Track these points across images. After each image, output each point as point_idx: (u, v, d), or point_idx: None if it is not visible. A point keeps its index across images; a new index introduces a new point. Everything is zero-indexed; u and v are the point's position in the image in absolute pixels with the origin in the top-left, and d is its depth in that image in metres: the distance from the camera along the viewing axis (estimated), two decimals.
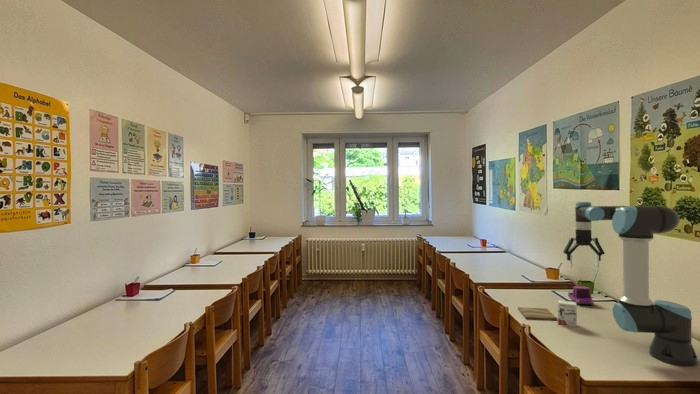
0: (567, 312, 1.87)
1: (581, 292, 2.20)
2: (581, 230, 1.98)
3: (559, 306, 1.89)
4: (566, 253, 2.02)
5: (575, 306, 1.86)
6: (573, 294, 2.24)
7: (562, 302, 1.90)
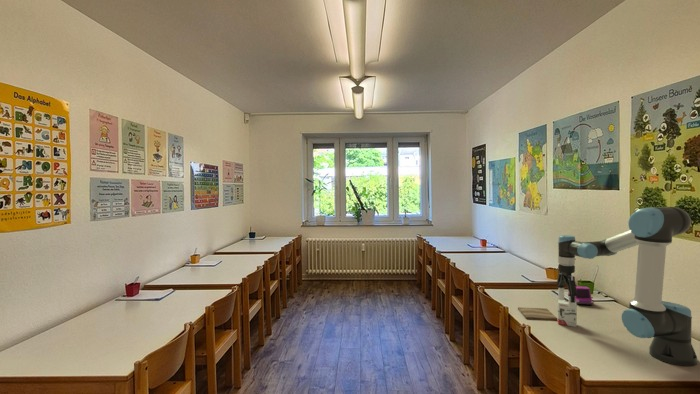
0: (567, 312, 1.87)
1: (581, 292, 2.20)
2: None
3: (559, 306, 1.89)
4: (557, 284, 1.99)
5: (575, 306, 1.86)
6: None
7: (562, 302, 1.90)
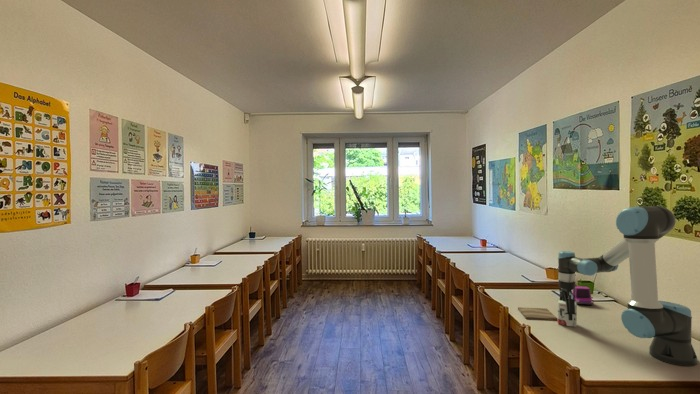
0: None
1: (580, 292, 2.20)
2: None
3: (559, 306, 1.89)
4: None
5: (575, 306, 1.86)
6: (573, 294, 2.24)
7: (562, 302, 1.90)
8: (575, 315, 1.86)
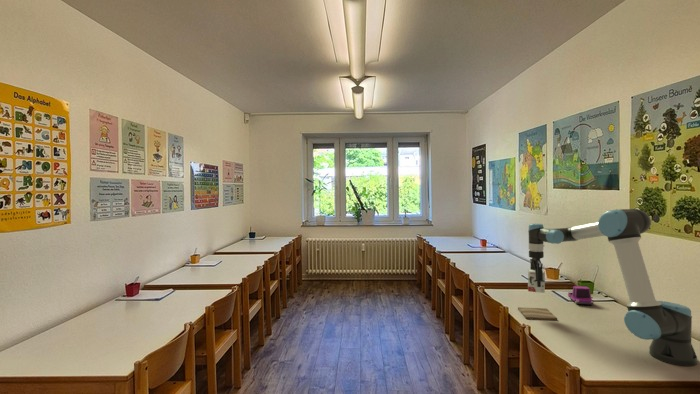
0: None
1: (580, 292, 2.20)
2: None
3: (529, 274, 2.03)
4: None
5: (543, 274, 2.00)
6: (573, 294, 2.24)
7: (532, 271, 2.04)
8: (543, 282, 2.00)
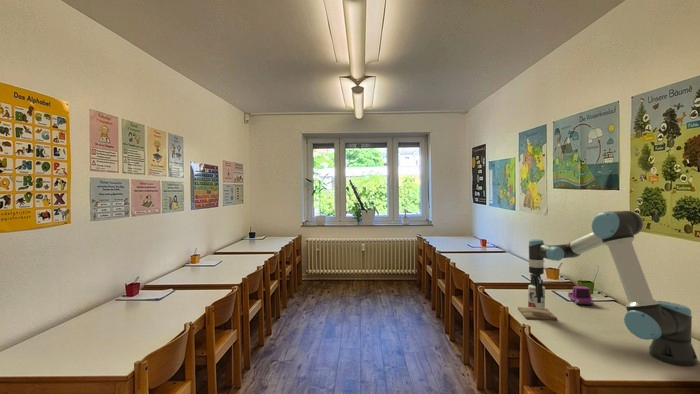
0: None
1: (580, 292, 2.20)
2: None
3: (529, 290, 2.04)
4: None
5: (543, 290, 2.00)
6: (573, 294, 2.24)
7: (532, 286, 2.04)
8: (543, 298, 2.00)
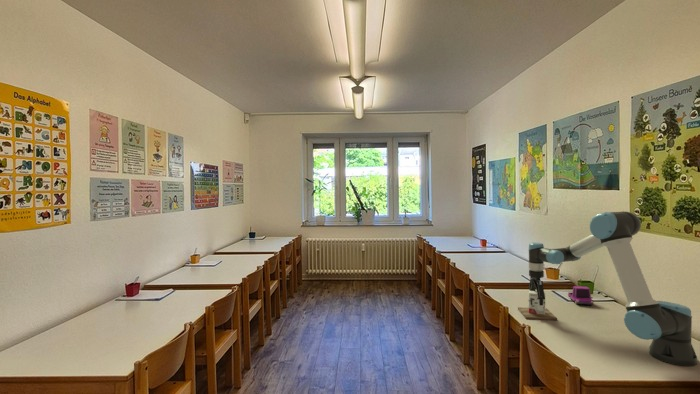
0: (536, 301, 2.02)
1: (580, 292, 2.20)
2: None
3: (529, 296, 2.03)
4: None
5: None
6: (573, 294, 2.24)
7: (532, 292, 2.04)
8: (544, 304, 2.00)
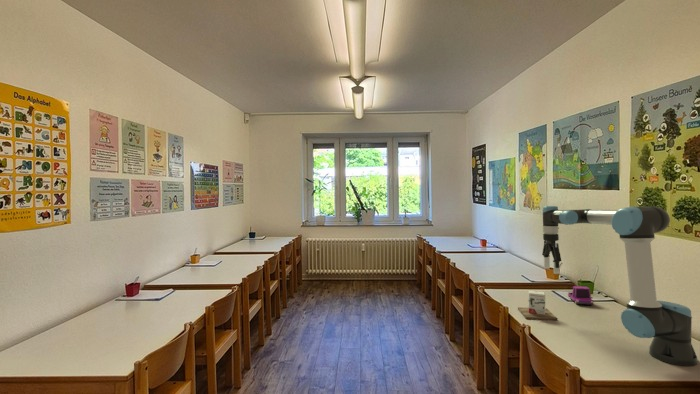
0: (536, 301, 2.02)
1: (580, 292, 2.20)
2: None
3: (529, 296, 2.03)
4: None
5: (544, 295, 2.00)
6: (573, 294, 2.24)
7: (532, 292, 2.04)
8: (544, 304, 2.00)
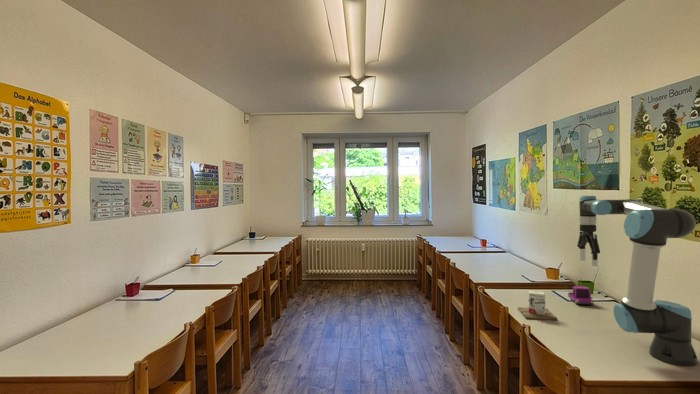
0: (536, 301, 2.02)
1: (580, 292, 2.20)
2: None
3: (529, 296, 2.03)
4: (578, 246, 2.01)
5: (544, 295, 2.00)
6: (573, 294, 2.24)
7: (532, 292, 2.04)
8: (544, 304, 2.00)
